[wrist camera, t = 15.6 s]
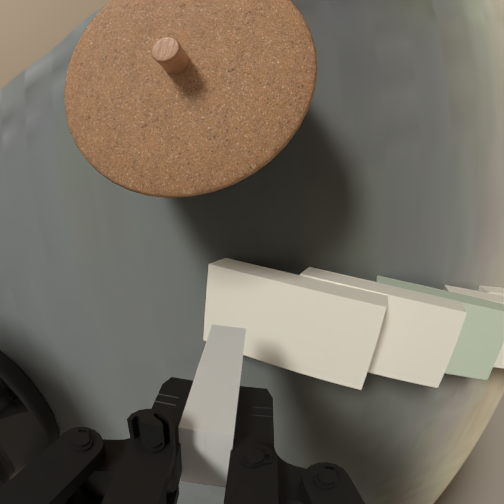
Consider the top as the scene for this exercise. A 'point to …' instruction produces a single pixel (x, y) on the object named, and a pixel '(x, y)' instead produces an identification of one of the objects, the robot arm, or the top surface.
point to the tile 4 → (503, 357)
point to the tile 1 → (297, 320)
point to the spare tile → (469, 331)
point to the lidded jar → (189, 91)
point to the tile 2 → (408, 330)
